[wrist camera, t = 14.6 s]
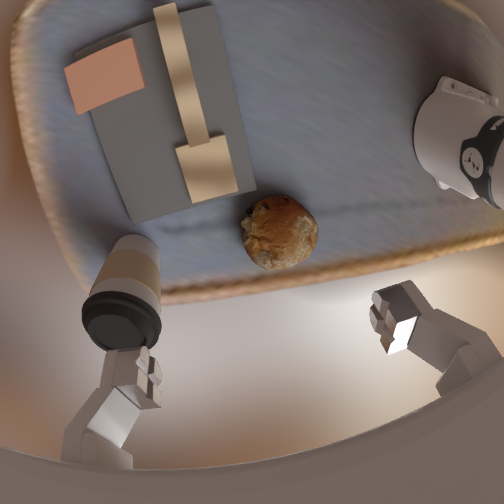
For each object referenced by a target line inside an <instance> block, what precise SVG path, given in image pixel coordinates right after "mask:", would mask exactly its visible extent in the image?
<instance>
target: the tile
mask: <svg viewBox="0 0 504 504" xmlns="http://www.w3.org/2000/svg"><path fill="white" fill-rule="evenodd" d="M64 70H65V74H66V78H67V82H68V85H69V89H70V92H71V96H72V99H73V102H74V106H75V109H76V112H77V115H81V114H83V113H85V112H87V111H89V110H91V109H94V108H96V107H98V106H100V105H103V104H105V103H107V102H110V101H112V100H114V99H117V98H119V97H122V96H124V95H127V94H130V93H132V92H135V91H138V90H140V89H143V88H146V87H147V84H146V80H145V77H144V73H143V69H142V65H141V62H140V58H139V54H138V50H137V46H136V42H135V39H133V38H132V37H131V38H129V39H126V40H123V41H121V42H118V43H116V44H114V45H111V46H109V47H107V48H104V49H102V50H100V51H98V52H95V53H93V54H91V55H89V56H87V57H85V58H83V59H81V60H79V61H77V62H75V63H73V64H71V65H69V66H67V67H66V68H64Z"/></svg>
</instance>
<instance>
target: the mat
mask: <svg viewBox="0 0 504 504" xmlns="http://www.w3.org/2000/svg"><path fill="white" fill-rule="evenodd" d="M178 15H179V19H180V23H181V27H182V31H183V35H184V39H185V43H186V47H187V51H188V55H189V59H190V63H191V67H192V71H193V75H194V79H195V83H196V87H197V91H198V95H199V99H200V103H201V107H202V111H203V114H204V118H205V122H206V126H207V130H208V134H209V138H210V137H214V136H217V135H221V134H225V137H226V141H227V145H228V150H229V154H230V158H231V162H232V166H233V170H234V174H235V178H236V183H237V187H238V191H237V192H233V193H229V194H225V195H222V196H218V197H214V198H210V199H207V200H203V201H200V202H196V203H192V200H191V197H190V194H189V191H188V188H187V185H186V181H185V178H184V175H183V172H182V169H181V166H180V162H179V159H178V156H177V153H176V149H175V148H176V147H178V146H181V145H185V144H188V140H187V137H186V133H185V130H184V126H183V123H182V119H181V116H180V112H179V108H178V105H177V101H176V97H175V94H174V90H173V86H172V82H171V79H170V75H169V71H168V67H167V63H166V60H165V56H164V52H163V48H162V44H161V40H160V36H159V32H158V28H157V24H156V20H153V21H150V22H147V23H144V24H141V25H139V26H136V27H133V28H130V29H128V30H125V31H123V32H120V33H118V34H115V35H113V36H110V37H108V38H106V39H103V40H101V41H99V42H97V43H95V44H93V45H90V46H88V47H86V48H84V49H82V50H80V51H78V52H76V53H74V56H75V60H76V62H77V61H79V60H81V59H83V58H85V57H87V56H89V55H91V54H93V53H95V52H98V51H100V50H102V49H104V48H107V47H109V46H111V45H114V44H116V43H118V42H121V41H123V40H126V39H129V38H131V37H132V38H133V39H135V42H136V46H137V50H138V54H139V58H140V62H141V65H142V69H143V73H144V77H145V80H146V84H147V87H146V88H143V89H140V90H138V91H135V92H132V93H130V94H127V95H124V96H122V97H119V98H117V99H114V100H112V101H110V102H107V103H105V104H103V105H100V106H98V107H96V108H94V109H91V110H90V112H91V116H92V119H93V122H94V125H95V128H96V131H97V134H98V136H99V139H100V142H101V145H102V148H103V151H104V153H105V156H106V159H107V161H108V164H109V167H110V169H111V172H112V174H113V177H114V179H115V182H116V184H117V187H118V189H119V192H120V194H121V197H122V199H123V201H124V204H125V206H126V209H127V211H128V213H129V215H130V218H131V220H132V222H133V225H135V224H138V223H141V222H144V221H147V220H151V219H154V218H157V217H161V216H164V215H167V214H171V213H174V212H177V211H181V210H184V209H188V208H191V207H195V206H198V205H202V204H206V203H209V202H213V201H217V200H220V199H224V198H228V197H232V196H236V195H239V194H243V193H247V192H251V191H255V190H257V188H256V183H255V179H254V174H253V169H252V165H251V160H250V155H249V151H248V146H247V141H246V137H245V132H244V128H243V123H242V119H241V114H240V110H239V105H238V101H237V97H236V92H235V88H234V83H233V79H232V75H231V70H230V66H229V62H228V58H227V53H226V49H225V45H224V41H223V37H222V32H221V28H220V24H219V20H218V16H217V12H216V8H215V5H210V6H206V7H201V8H197V9H192V10H188V11H184V12H180V13H178Z"/></svg>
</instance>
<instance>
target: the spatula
mask: <svg viewBox="0 0 504 504" xmlns="http://www.w3.org/2000/svg"><path fill="white" fill-rule="evenodd" d="M153 11H154V15H155V19H156V24H157V28H158V32H159V36H160V40H161V44H162V48H163V52H164V56H165V60H166V63H167V67H168V71H169V75H170V79H171V82H172V86H173V90H174V94H175V97H176V101H177V105H178V108H179V112H180V116H181V119H182V123H183V126H184V130H185V133H186V137H187V140H188V144H185V145H181V146H178V147H176V148H175V149H176V153H177V156H178V159H179V162H180V166H181V169H182V172H183V175H184V178H185V181H186V185H187V188H188V191H189V194H190V197H191V200H192V203H196V202H200V201H203V200H207V199H210V198H214V197H218V196H222V195H225V194H229V193H233V192H237V191H238V187H237V183H236V178H235V174H234V170H233V166H232V162H231V158H230V154H229V150H228V145H227V141H226V137H225V134H221V135H217V136H214V137H210V138H209V134H208V130H207V126H206V122H205V118H204V114H203V111H202V107H201V103H200V99H199V95H198V91H197V87H196V83H195V79H194V75H193V71H192V67H191V63H190V59H189V55H188V51H187V47H186V43H185V39H184V35H183V31H182V27H181V23H180V19H179V15H178V11H177V7H176V4H175V2H174V3H170V4H167V5H163V6H160V7H157V8H153Z"/></svg>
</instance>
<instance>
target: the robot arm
mask: <svg viewBox="0 0 504 504" xmlns="http://www.w3.org/2000/svg"><path fill="white" fill-rule="evenodd" d="M451 85H452V86H451ZM497 106H498V98H496V97H493V96H490V95H488V94H486V93H484V92H482V91H480V90H477V89H475V88H473V87H471V86H469V85H466V84H464V83H462V82H459V81H457V80H454V79H452V78H449V77H446V76H442V77H441V78H440V80H439V82H438V84H437V87H436V90H435V91H434V92H433V93H432V94H431V95H430V96H429V97H428V98H427V99H426V100H425V102H424V103H423V105H422V106H421V108H420V110H419V113H418V115H417V118H416V122H415V128H414V146H415V152H416V155H417V158H418V160H419V162H420V164H421V166H422V167H423V168H424V169H425V170H426V171H427V172H428V173H430V174H431V175H432V176H433V177H434V179H435V181H436V183H437V185H438V187H440V188H442V189H444V190H445V189H448V188H450V187H451V188H453V189H455V190H457V191H459V192H460V193H462V194H464V195H466V196H468V197H469V198H471V199H475V198H478V197H481V198H482V199H483V200H484V201H485V202H487V203H488V204H490V205H492V206H494V207H495V208H497V209H503V210H504V112H503V111H501V110H499V109H498V107H497ZM372 301H373V303H374V304H373V305H372V306H371V307H370V313H369V314H370V321H371V324H372V326H373V328H374V330H375V332H377V333H379V334H381V339H380V342H381V343H382V345H383V347H384V349H385V351H386V353H387V354H390V353H393V352H396V351H399V350H401V349H404V348H406V347H407V349H409V350H410V351H411V352H413V353H414V354H416V355H417V356H419V357H420V358H422V359H423V360H425V361H426V362H427V363H429V364H430V365H432V366H433V367H435V368H436V369H438V370H439V371H441V372H442V373H443V374H442V376H441V377H440V378H439V380H438V382H437V383H436V388H437V390H438V392H439V394H440V396H441V398H438V399H437V400H435V401H433V402H431V403H429V404H427V405H425V406H423V407H421V408H419V409H417V410H415V411H413V412H411V413H409V414H406V415H404V416H402V417H400V418H397V419H395V420H393V421H390V422H388V423H386V424H383V425H381V426H378V427H376V428H373V429H371V430H368V431H365V432H363V433H360V434H357V435H354V436H351V437H348V438H346V439H342V440H339V441H336V442H333V443H330V444H326V445H323V446H320V447H316V448H312V449H308V450H304V451H301V452H296V453H292V454H288V455H284V456H279V457H274V458H269V459H264V460H258V461H252V462H246V463H239V464H232V465H224V466H214V467H202V468H189V469H133V457H132V455H131V454H130V453H128V452H126V451H124V450H122V449H121V446H122V445H123V443H124V441H125V439H126V437H127V435H128V434H129V432H130V430H131V428H132V426H133V425H134V423H135V421H136V419H137V417H138V415H139V414H140V412H141V409H151V408H160V407H161V391H160V390H159V389H158V386H159V384H160V383H161V379H162V377H161V376H162V375H161V369H160V366H159V364H158V362H157V360H156V359H155V358H153V357H151V356H149V355H150V351H149V350H148V349H147V347H146V346H141V347H133V348H124V349H116V350H108V352H107V353H106V355H105V360H104V365H103V371H102V376H101V382H100V388H96V390H95V391H94V392H93V393H92V395H91V396H90V397H89V398H88V400H87V401H86V402H85V404H84V405H83V406H82V408H81V409H80V410H79V412H78V413H77V414H76V416H75V417H74V419H73V420H72V421H71V422H70V424H69V425H68V426H67V428H66V429H65V432H64V438H63V446H62V455H61V461H60V460H54V459H50V458H45V457H41V456H37V455H33V454H29V453H25V452H21V451H18V450H14V449H11V448H8V447H0V504H504V357H502V356H501V354H500V353H499V351H498V350H497V348H496V347H495V345H494V344H493V342H492V341H491V339H490V338H489V336H488V335H487V333H486V332H484V331H482V330H480V329H478V328H476V327H474V326H472V325H470V324H468V323H466V322H464V321H462V320H460V319H457V318H455V317H453V316H451V315H449V314H447V313H445V312H443V311H441V310H439V309H433V308H432V307H431V305H430V304H429V303H428V301H427V300H426V298H425V297H424V296H423V294H422V293H421V292H420V291H419V289H418V288H417V287H416V285H415V284H414V283H413V282H412V281H411V280H408V281H405V282H402V283H399V284H395V285H392V286H389V287H386V288H383V289H380V290H378V291H375V292H374V293H373V294H372Z"/></svg>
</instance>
